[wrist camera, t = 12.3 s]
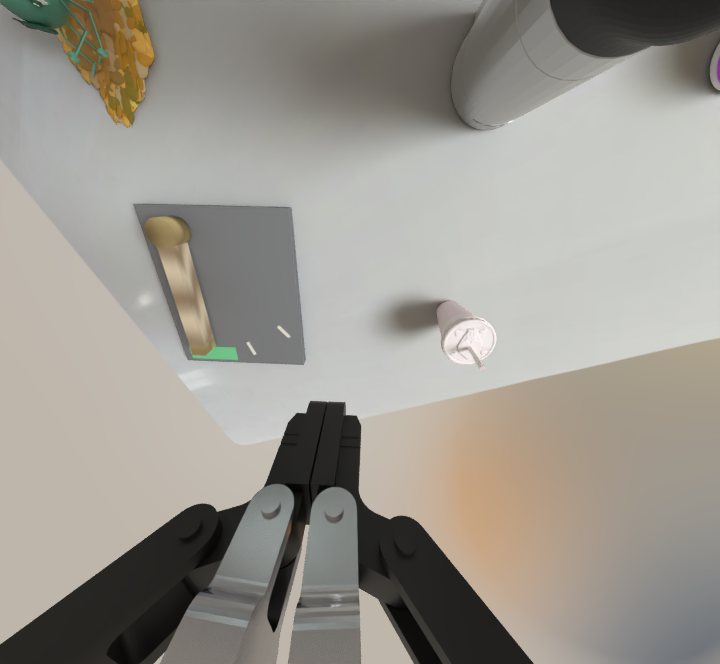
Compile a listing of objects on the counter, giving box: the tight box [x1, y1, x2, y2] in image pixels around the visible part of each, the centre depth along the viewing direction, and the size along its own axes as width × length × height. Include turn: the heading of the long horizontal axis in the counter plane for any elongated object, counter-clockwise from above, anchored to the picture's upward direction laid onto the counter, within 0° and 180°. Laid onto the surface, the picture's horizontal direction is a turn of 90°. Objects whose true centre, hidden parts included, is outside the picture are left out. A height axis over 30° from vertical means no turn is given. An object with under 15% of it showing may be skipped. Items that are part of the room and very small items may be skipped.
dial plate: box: [134, 204, 306, 365], centre depth 39 cm, size 24×20×2 cm
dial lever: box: [144, 216, 216, 356], centre depth 36 cm, size 19×4×3 cm, turn 179°
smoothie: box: [436, 301, 496, 370], centre depth 34 cm, size 6×6×14 cm
